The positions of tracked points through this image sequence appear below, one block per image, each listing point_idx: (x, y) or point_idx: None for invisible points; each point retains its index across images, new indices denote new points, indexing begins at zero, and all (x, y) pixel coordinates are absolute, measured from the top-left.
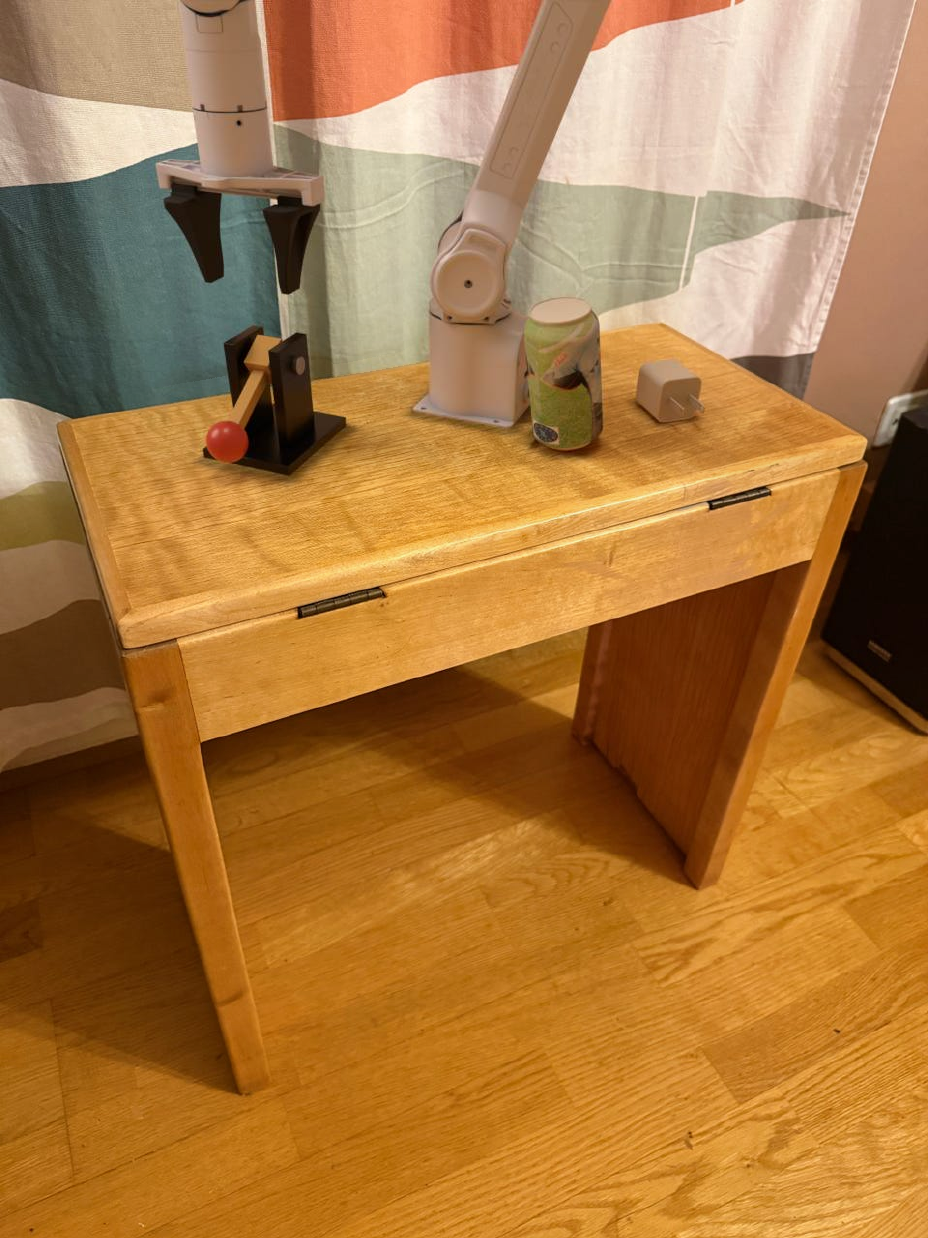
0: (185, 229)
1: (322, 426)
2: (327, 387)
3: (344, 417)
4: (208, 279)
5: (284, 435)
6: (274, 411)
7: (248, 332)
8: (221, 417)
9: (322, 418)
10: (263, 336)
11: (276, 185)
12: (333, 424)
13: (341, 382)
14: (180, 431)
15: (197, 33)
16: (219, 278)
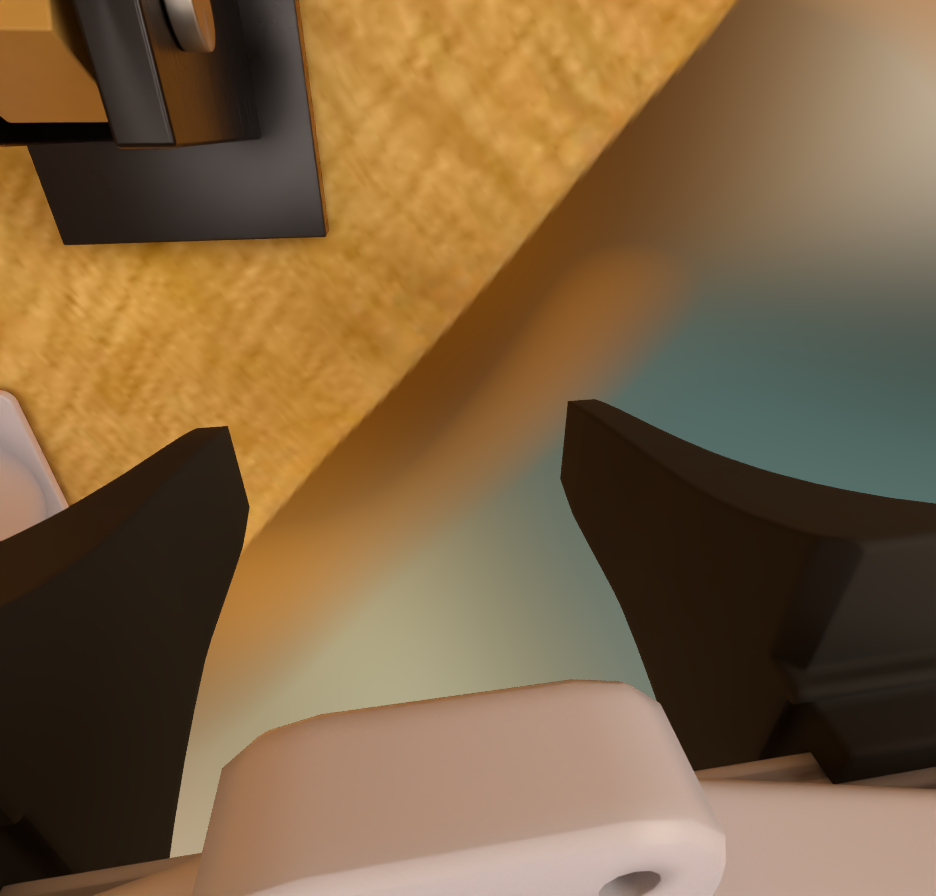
0: (750, 477)
1: (64, 152)
2: (304, 425)
3: (63, 239)
4: (579, 403)
5: None
6: (263, 188)
7: (106, 27)
8: (427, 160)
9: (111, 205)
10: (7, 20)
11: None
12: (51, 181)
13: (294, 459)
14: (476, 16)
15: None
16: (563, 454)
